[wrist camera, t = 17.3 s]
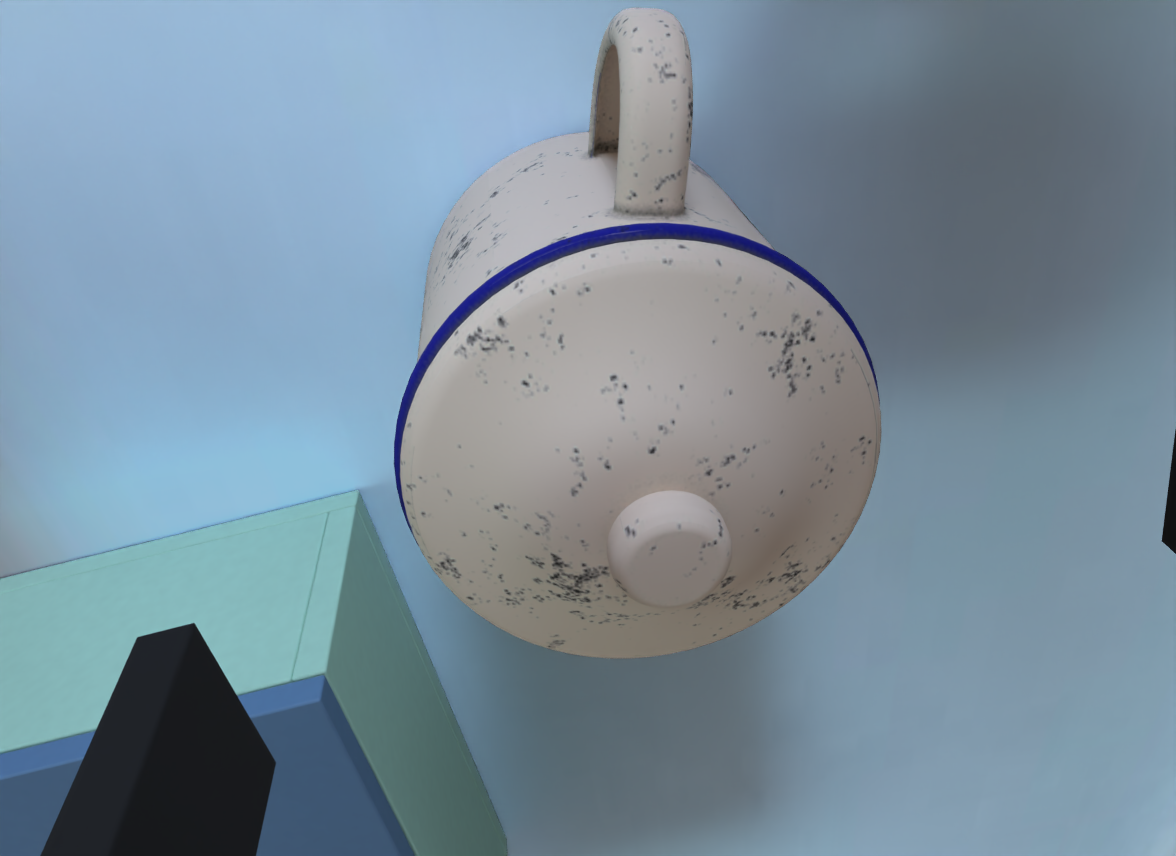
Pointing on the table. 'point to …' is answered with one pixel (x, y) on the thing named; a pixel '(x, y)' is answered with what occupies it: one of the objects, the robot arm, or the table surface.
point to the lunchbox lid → (297, 796)
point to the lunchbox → (256, 648)
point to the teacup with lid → (628, 387)
